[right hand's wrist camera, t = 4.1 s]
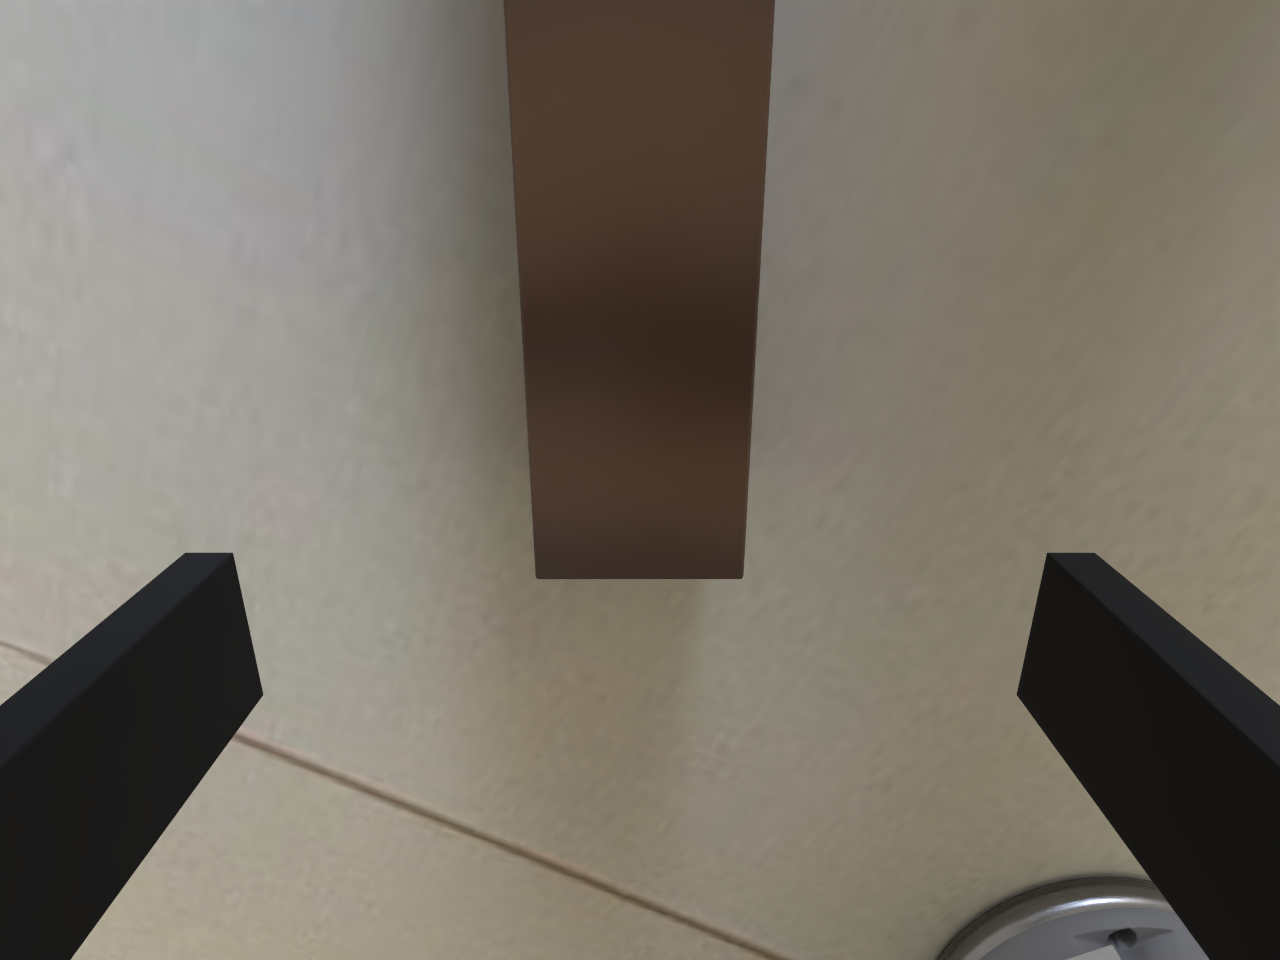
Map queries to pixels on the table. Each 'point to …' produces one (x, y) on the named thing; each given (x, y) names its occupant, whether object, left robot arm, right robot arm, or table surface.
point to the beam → (639, 276)
